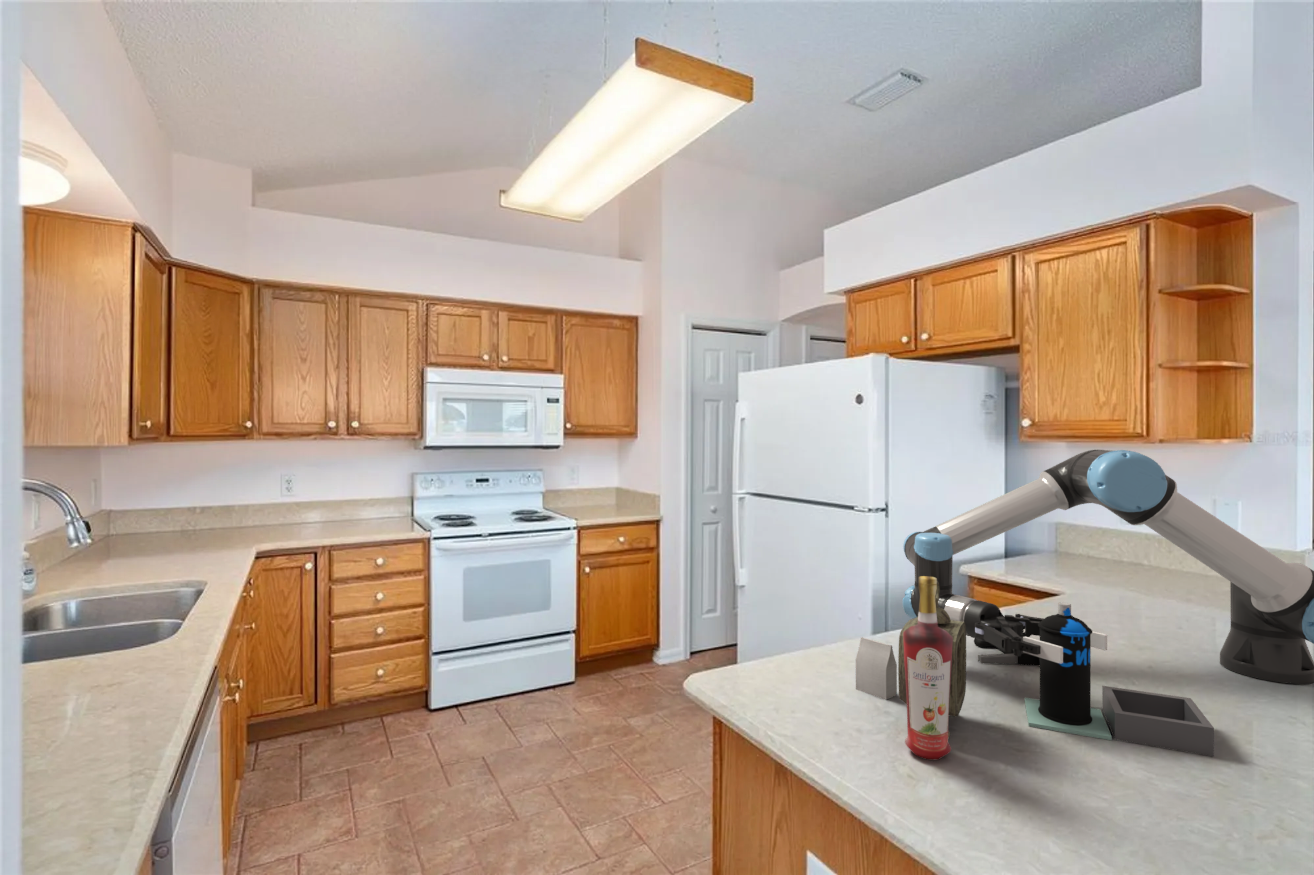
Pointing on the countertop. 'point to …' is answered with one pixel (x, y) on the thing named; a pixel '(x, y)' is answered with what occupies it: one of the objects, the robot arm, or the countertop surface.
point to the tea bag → (876, 669)
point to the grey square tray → (1157, 720)
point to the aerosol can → (1066, 669)
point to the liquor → (927, 678)
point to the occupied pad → (1092, 729)
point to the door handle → (1005, 656)
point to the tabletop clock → (958, 658)
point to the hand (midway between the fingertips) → (1084, 648)
